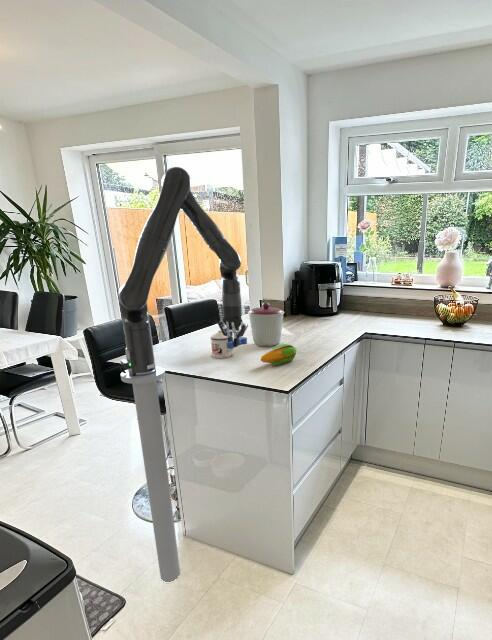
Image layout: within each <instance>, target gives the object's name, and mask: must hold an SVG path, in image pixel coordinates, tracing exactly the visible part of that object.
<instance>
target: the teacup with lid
mask: <svg viewBox="0 0 492 640" xmlns="http://www.w3.org/2000/svg"><path fill="white" fill-rule="evenodd" d="M227 343H228V337H227V336H224V335H223V333H222V331H221V329H219V330H218V331H217V332H215V333H214V334H212V335H210V344H211V356H212V357H213V358H217V359H224V358H229V357H231V356H232V352H233V351H234V348H232V349H227Z"/></svg>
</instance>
